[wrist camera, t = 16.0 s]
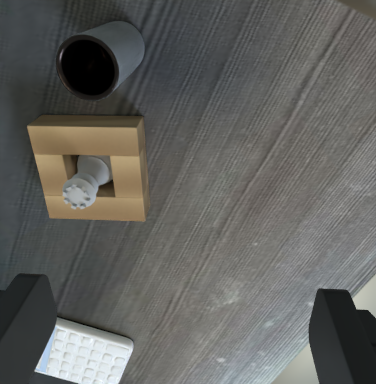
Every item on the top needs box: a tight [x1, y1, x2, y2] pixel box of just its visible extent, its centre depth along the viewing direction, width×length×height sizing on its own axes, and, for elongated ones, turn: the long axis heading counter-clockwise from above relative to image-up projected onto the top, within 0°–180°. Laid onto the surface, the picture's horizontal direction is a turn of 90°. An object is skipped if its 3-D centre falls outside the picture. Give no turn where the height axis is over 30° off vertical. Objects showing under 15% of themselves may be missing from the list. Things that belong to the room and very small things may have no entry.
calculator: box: [35, 317, 133, 384], centre depth 57 cm, size 13×20×2 cm, turn 71°
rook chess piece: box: [62, 155, 113, 209], centre depth 37 cm, size 4×4×8 cm
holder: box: [27, 115, 150, 221], centre depth 39 cm, size 11×11×4 cm
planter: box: [56, 21, 145, 101], centre depth 29 cm, size 4×4×10 cm
